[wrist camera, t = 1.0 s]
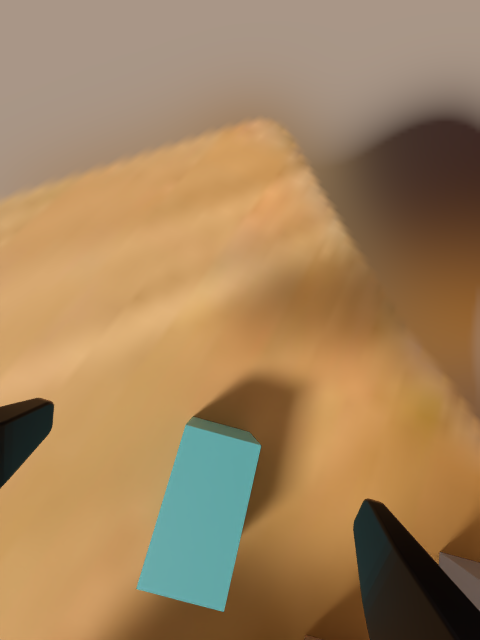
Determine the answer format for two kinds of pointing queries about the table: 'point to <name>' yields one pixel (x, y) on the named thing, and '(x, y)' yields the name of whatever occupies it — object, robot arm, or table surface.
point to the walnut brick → (311, 638)
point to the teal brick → (202, 515)
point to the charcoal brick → (463, 575)
